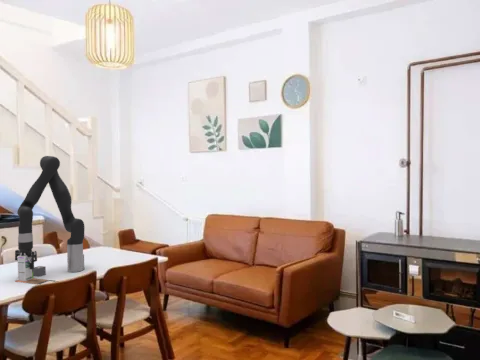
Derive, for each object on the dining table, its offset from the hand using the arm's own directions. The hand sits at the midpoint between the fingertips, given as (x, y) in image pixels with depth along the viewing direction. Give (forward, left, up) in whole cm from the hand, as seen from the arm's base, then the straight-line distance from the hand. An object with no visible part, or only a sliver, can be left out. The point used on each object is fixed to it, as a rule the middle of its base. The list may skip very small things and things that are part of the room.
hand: (26, 268), depth 228 cm
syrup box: (0, 0, -7) cm, 7 cm away
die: (-11, -2, -7) cm, 13 cm away
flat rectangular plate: (0, +8, -7) cm, 11 cm away
